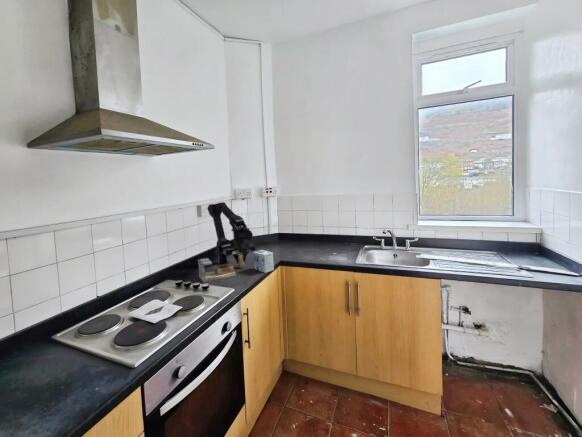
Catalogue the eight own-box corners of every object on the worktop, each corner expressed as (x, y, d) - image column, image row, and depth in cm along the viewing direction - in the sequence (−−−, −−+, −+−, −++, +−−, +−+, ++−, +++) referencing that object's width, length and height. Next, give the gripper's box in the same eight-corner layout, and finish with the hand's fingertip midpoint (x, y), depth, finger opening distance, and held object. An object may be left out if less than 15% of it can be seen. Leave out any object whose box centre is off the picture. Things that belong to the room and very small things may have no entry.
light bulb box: (254, 269, 167) (252, 252, 165) (263, 266, 171) (261, 249, 170) (265, 273, 159) (264, 254, 158) (274, 269, 164) (273, 252, 162)
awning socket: (199, 276, 160) (197, 259, 159) (229, 269, 168) (228, 253, 167) (203, 282, 150) (201, 264, 148) (235, 275, 158) (234, 258, 157)
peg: (237, 267, 172) (236, 254, 171) (243, 266, 174) (242, 253, 173) (239, 268, 169) (238, 255, 168) (245, 267, 171) (243, 254, 169)
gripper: (227, 243, 157) (229, 269, 160) (258, 238, 166) (260, 263, 168) (222, 240, 167) (224, 265, 169) (251, 235, 176) (253, 259, 178)
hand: (240, 263), depth 171 cm, fingers closed on peg, 4 cm apart
